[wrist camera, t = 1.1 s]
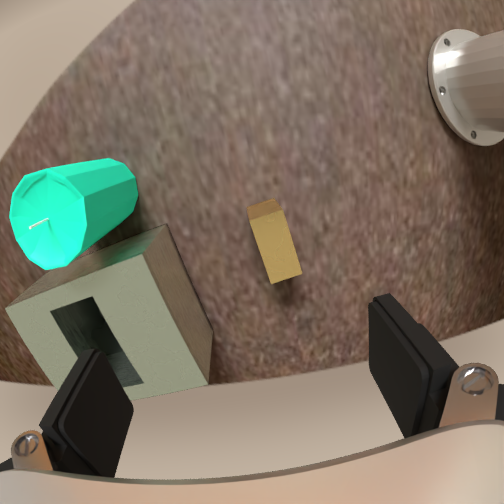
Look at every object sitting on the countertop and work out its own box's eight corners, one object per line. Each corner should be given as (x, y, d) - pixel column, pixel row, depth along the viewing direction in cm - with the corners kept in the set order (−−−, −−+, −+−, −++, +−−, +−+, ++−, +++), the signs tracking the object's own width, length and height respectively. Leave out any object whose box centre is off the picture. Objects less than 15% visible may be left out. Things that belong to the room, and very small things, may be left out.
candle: (136, 229, 27) (77, 286, 15) (77, 222, 26) (-1, 271, 15) (141, 160, 25) (75, 173, 13) (79, 157, 24) (-8, 171, 13)
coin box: (166, 223, 27) (142, 254, 19) (213, 329, 30) (208, 384, 23) (47, 272, 27) (4, 308, 20) (97, 359, 31) (71, 408, 23)
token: (273, 197, 27) (282, 209, 22) (290, 251, 28) (302, 273, 23) (246, 207, 27) (249, 220, 22) (265, 260, 28) (271, 284, 24)
